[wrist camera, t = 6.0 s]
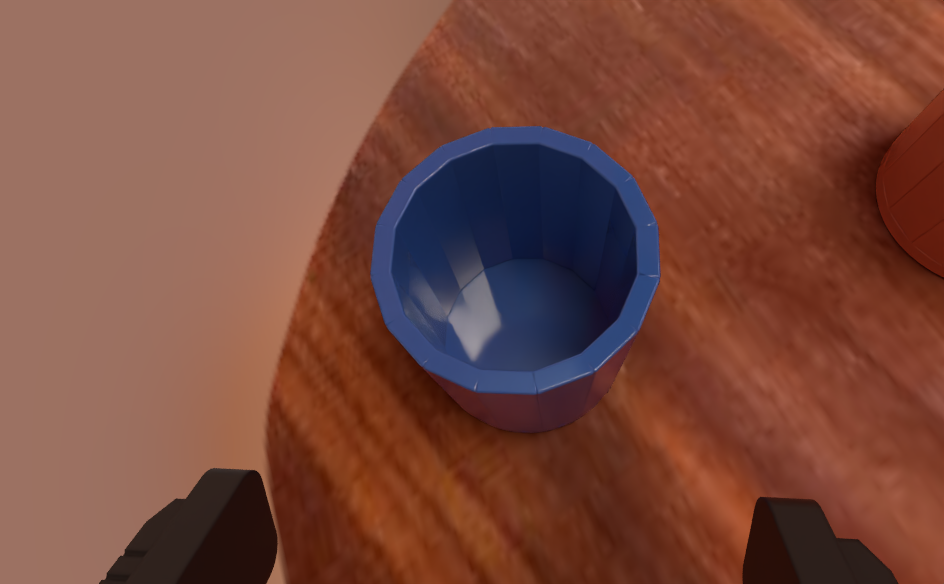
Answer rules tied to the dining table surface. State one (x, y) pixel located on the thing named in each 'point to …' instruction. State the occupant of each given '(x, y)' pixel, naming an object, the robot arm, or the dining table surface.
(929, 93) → the dining table surface
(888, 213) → the terracotta cup
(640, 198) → the blue cup
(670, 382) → the dining table surface
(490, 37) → the dining table surface
